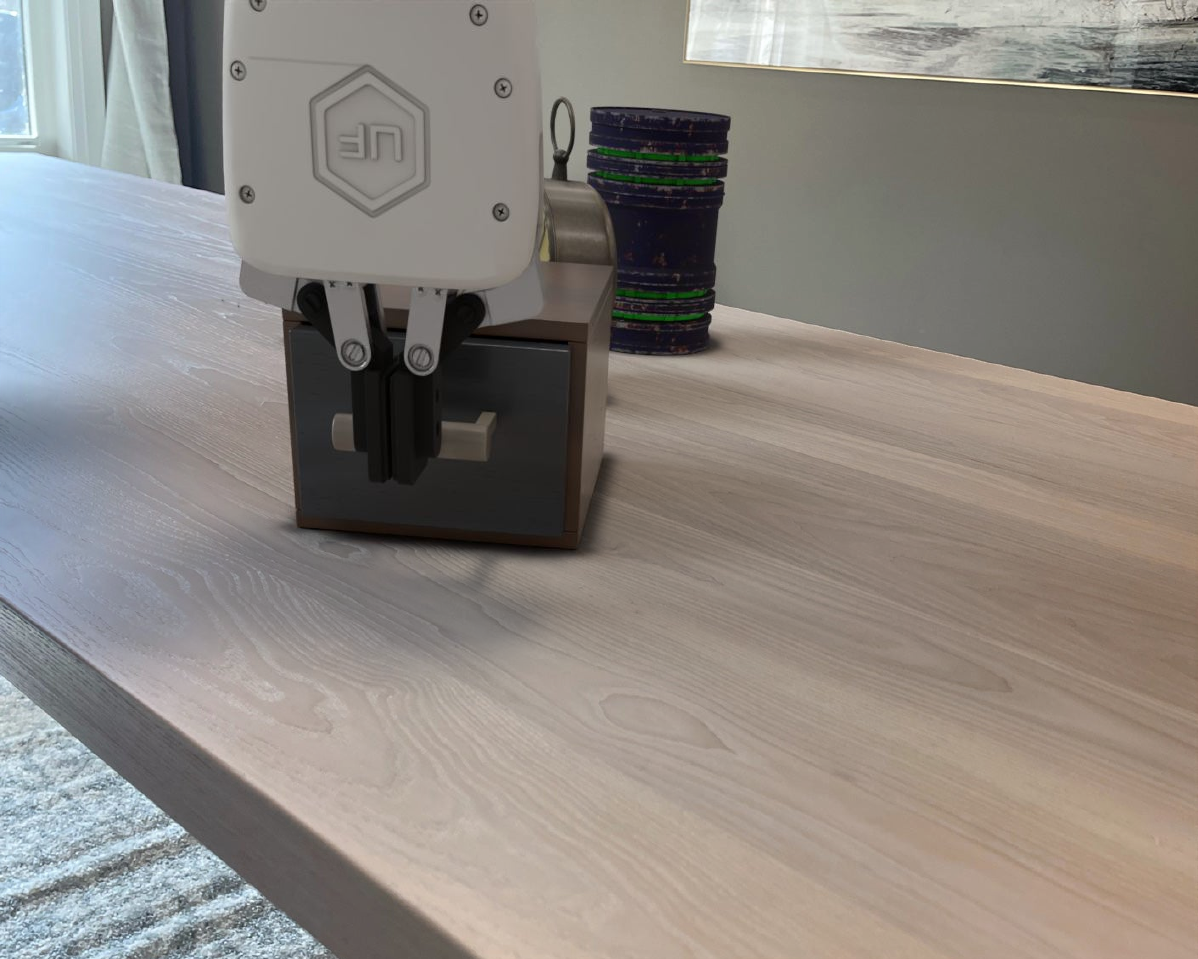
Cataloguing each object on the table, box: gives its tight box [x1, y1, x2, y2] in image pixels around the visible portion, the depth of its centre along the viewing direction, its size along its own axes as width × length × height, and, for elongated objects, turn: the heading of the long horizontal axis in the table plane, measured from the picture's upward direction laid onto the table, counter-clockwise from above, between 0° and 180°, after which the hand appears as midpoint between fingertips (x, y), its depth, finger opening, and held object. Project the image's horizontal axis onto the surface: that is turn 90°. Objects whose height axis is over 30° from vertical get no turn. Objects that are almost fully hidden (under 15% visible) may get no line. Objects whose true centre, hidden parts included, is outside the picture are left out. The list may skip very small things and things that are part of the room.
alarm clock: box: [539, 95, 617, 320], centre depth 78 cm, size 11×5×16 cm, turn 21°
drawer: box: [289, 325, 572, 538], centre depth 58 cm, size 18×11×8 cm, turn 175°
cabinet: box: [281, 261, 614, 550], centre depth 61 cm, size 15×13×10 cm
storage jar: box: [586, 105, 732, 356], centre depth 92 cm, size 10×10×15 cm
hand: (399, 472), depth 48 cm, fingers closed
